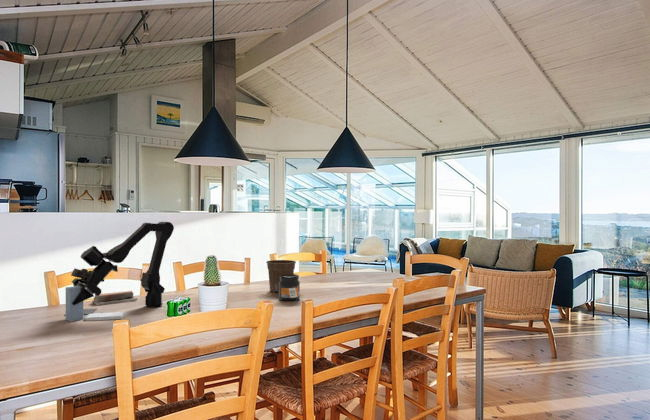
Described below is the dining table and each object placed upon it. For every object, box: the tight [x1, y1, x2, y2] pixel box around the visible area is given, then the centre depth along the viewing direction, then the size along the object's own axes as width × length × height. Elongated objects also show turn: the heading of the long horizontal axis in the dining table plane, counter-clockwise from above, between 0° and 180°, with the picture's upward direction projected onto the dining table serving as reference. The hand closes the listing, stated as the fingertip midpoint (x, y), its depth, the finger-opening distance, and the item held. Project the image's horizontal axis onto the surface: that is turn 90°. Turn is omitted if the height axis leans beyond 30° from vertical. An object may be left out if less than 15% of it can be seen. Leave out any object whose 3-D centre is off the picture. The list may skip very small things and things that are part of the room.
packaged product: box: [92, 290, 138, 306], centre depth 215 cm, size 18×5×10 cm
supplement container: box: [278, 273, 301, 302], centre depth 221 cm, size 10×10×12 cm
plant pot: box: [266, 259, 297, 293], centre depth 244 cm, size 16×16×16 cm
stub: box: [65, 285, 84, 322], centre depth 181 cm, size 5×5×13 cm
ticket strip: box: [83, 311, 126, 322], centre depth 183 cm, size 14×7×1 cm, turn 103°
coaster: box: [63, 308, 98, 317], centre depth 192 cm, size 10×10×1 cm
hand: (70, 303), depth 180 cm, fingers closed on stub, 5 cm apart
